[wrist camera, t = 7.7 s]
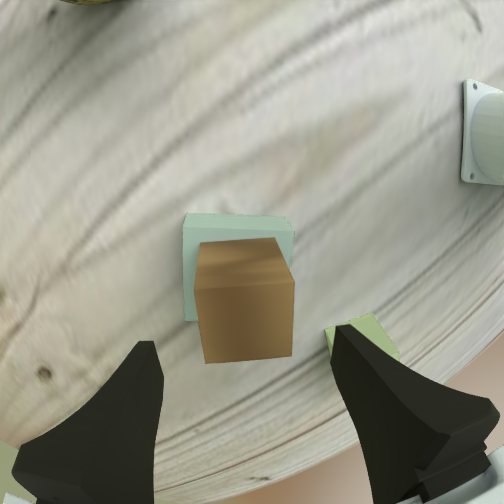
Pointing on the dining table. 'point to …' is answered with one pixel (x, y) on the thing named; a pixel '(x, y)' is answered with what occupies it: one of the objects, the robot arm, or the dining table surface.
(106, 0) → the cup
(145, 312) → the dining table surface
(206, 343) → the walnut block
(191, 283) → the mint green base block
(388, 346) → the sage block
